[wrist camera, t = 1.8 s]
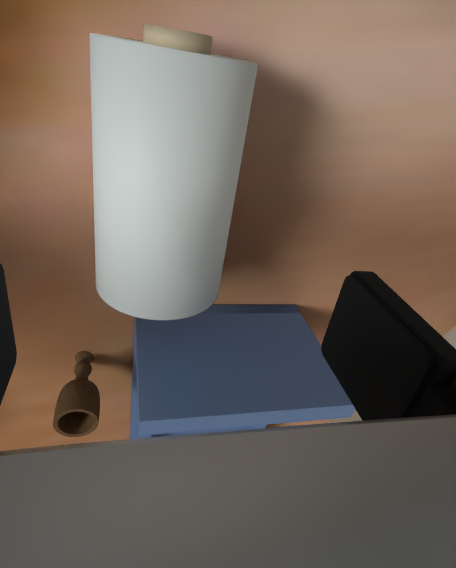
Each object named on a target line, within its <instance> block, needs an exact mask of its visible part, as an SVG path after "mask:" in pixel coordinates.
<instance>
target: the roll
mask: <svg viewBox="0 0 456 568" xmlns="http://www.w3.org/2000/svg"><path fill="white" fill-rule="evenodd" d="M211 45H212V37H211V36H207V35H202V34H198V33H193V32H188V31H183V30H177V29H172V28H167V27H161V26H156V25H150V24H144V27H143V41H139V40H134V39H128V38H122V37H116V36H109V35H103V34H96V33H90V69H91V109H92V149H93V188H94V228H95V268H96V289H97V292H98V294H99V295H100V297H101V298H102V299H103V300H104V301H105V302H106V303H107V304H108V305H109V306H111V307H113V308H114V309H116V310H118V311H120V312H122V313H125V314H128V315H130V316H134V317H138V318H143V319H150V320H176V319H183V318H187V317H191V316H194V315H196V314H199V313H201V312H203V311H205V310H206V309H208V308H209V307H210V306H211V305H212V304H213V303H214V302H215V300H216V299H217V296H218V292H219V286H220V280H221V275H222V269H223V263H224V257H225V252H226V246H227V240H228V234H229V229H230V223H231V217H232V212H233V206H234V200H235V194H236V189H237V183H238V177H239V171H240V166H241V160H242V154H243V148H244V143H245V137H246V131H247V125H248V120H249V114H250V108H251V103H252V97H253V91H254V85H255V80H256V74H257V68H258V64H257V63H254V62H250V61H245V60H240V59H236V58H231V57H226V56H221V55H216V54H211Z"/></svg>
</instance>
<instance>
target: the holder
mask: <svg viewBox="0 0 456 568" xmlns="http://www.w3.org/2000/svg"><path fill="white" fill-rule="evenodd" d="M354 410H355V407H354V406H353V404H352V402H351V401H350V399H349V398H348V396H347V394H346V393H345V391H344V389H343V388H342V386H341V385H340V383H339V381H338V380H337V378H336V376H335V375H334V373H333V371H332V370H331V368H330V367H329V365H328V363H327V362H326V360H325V358H324V357H323V355H322V350H321V345H320V343H319V342H318V340H317V339H316V337H315V335H314V334H313V332H312V330H311V329H310V327H309V326H308V324H307V322H306V321H305V319H304V318H303V316H302V314H301V313H300V311H299V309H298V308H297V306H296V305H211V306H210V307H209V308H208V309H206V310H205V311H203V312H201V313H199V314H196V315H194V316H191V317H187V318H183V319H176V320H150V319H143V318H138V317H135V325H134V351H133V376H132V401H131V427H130V439H139V438H151V437H163V436H175V435H186V434H198V433H211V432H223V431H236V430H248V429H261V428H266V425H267V424H278V423H289V422H300V421H312V420H323V419H334V418H346V417H351V416H352V414H353V412H354Z"/></svg>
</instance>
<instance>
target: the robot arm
mask: <svg viewBox="0 0 456 568" xmlns="http://www.w3.org/2000/svg"><path fill="white" fill-rule="evenodd" d="M321 350H322V355H323V357H324V358H325V360H326V362H327V363H328V365H329V367H330V368H331V370H332V371H333V373H334V375H335V376H336V378H337V380H338V381H339V383H340V385H341V386H342V388H343V389H344V391H345V393H346V394H347V396H348V398H349V399H350V401H351V402H352V404H353V406H354V407H355V409H356V411H357V412H358V414H359V416H360V417H361V419H362V420H363V421H353V422H339V423H325V424H312V425H300V426H287V427H274V428H261V429H248V430H236V431H223V432H211V433H198V434H186V435H175V436H163V437H151V438H139V439H127V440H115V441H103V442H91V443H80V444H69V445H58V446H47V447H36V448H26V449H16V450H7V451H0V568H456V349H455V348H454V347H453V346H451V345H450V344H449V343H448V342H447V341H446V340H445V339H444V338H443V337H442V336H441V335H440V334H439V333H438V332H437V331H436V330H435V329H434V328H432V327H431V326H430V325H429V324H428V323H427V322H426V321H425V320H424V319H423V318H422V317H421V316H420V315H419V314H418V313H417V312H415V311H414V310H413V309H412V308H411V307H410V306H409V305H408V304H407V303H406V302H405V301H404V300H403V299H402V298H401V297H400V296H398V295H397V294H396V293H395V292H394V291H393V290H392V289H391V288H390V287H389V286H388V285H387V284H386V283H385V282H384V281H383V280H382V279H380V278H379V277H378V276H377V275H376V274H375V273H374V272H367V271H354V272H352V273H351V274H350V276H347V277H346V278H345V280H344V283H343V285H342V288H341V291H340V294H339V297H338V300H337V302H336V305H335V308H334V311H333V314H332V317H331V319H330V322H329V325H328V328H327V331H326V334H325V336H324V339H323V342H322V346H321ZM16 355H17V352H16V344H15V338H14V332H13V326H12V319H11V313H10V307H9V301H8V294H7V288H6V282H5V275H4V270H3V267H2V265H1V264H0V404H1V402H2V399H3V396H4V393H5V391H6V388H7V385H8V383H9V380H10V377H11V374H12V372H13V369H14V366H15V363H16Z"/></svg>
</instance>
